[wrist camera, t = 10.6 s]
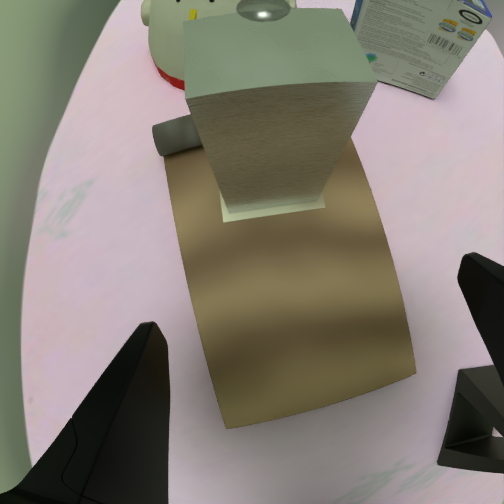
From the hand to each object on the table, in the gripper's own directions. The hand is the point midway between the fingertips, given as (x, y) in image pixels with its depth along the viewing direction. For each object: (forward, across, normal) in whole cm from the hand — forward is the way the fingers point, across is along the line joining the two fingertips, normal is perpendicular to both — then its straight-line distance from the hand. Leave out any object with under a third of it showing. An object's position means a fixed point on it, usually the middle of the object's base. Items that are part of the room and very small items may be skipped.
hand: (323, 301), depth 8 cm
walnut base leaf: (+12, 0, +7) cm, 14 cm away
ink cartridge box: (+24, -14, -4) cm, 28 cm away
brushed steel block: (+15, 0, +3) cm, 15 cm away
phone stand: (+1, -14, +20) cm, 25 cm away
